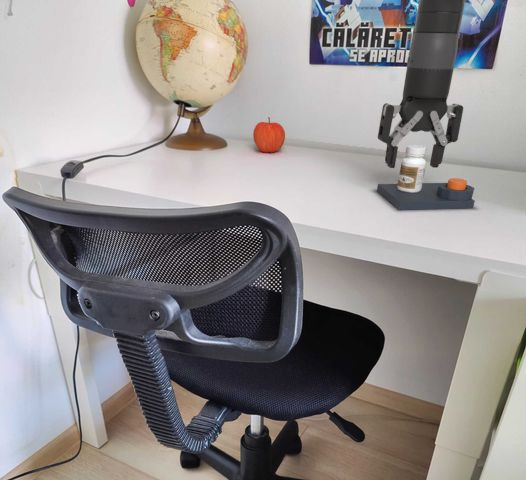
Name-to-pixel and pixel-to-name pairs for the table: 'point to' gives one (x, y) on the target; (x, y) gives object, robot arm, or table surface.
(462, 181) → the button
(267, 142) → the apple
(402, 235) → the table surface
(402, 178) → the pill bottle
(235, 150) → the table surface
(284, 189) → the table surface
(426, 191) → the grey button base
